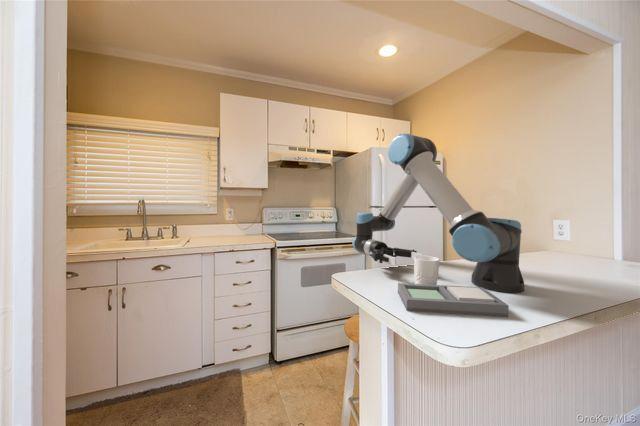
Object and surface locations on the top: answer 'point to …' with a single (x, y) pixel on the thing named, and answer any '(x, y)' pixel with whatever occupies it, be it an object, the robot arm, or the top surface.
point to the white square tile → (469, 294)
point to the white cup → (426, 270)
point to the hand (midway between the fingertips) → (410, 260)
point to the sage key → (425, 294)
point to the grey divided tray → (450, 302)
